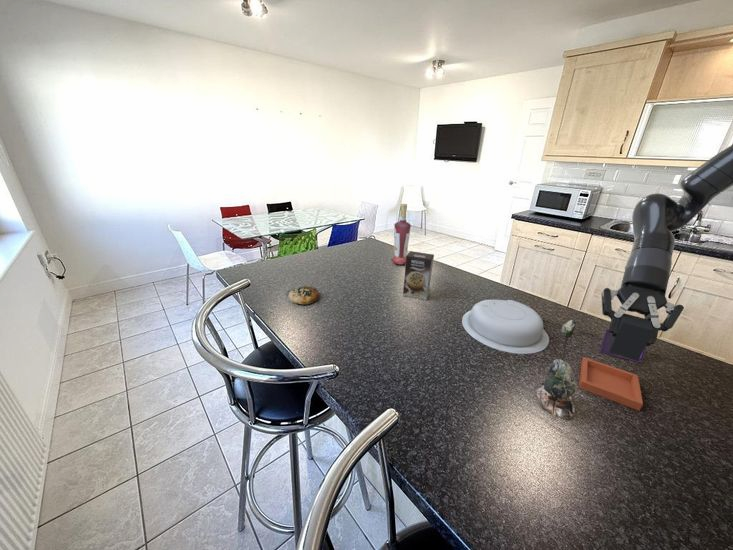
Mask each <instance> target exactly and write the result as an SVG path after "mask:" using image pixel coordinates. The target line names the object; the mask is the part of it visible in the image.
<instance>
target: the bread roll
mask: <svg viewBox="0 0 733 550" xmlns="http://www.w3.org/2000/svg"><path fill="white" fill-rule="evenodd" d="M319 298H320V292H319V290H318V289H317V288H316V287H314V286H308V285H307V286H306V285H304V286H303V285H302V286H298V287H296V288H294V289H291V290H290V292H289V293H288V299H289V301H290V302H291V303H292V304H297V305H304V306H305V305H307V306H308V305H311V304H313V303H314V302H317V301H318V299H319Z"/></svg>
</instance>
